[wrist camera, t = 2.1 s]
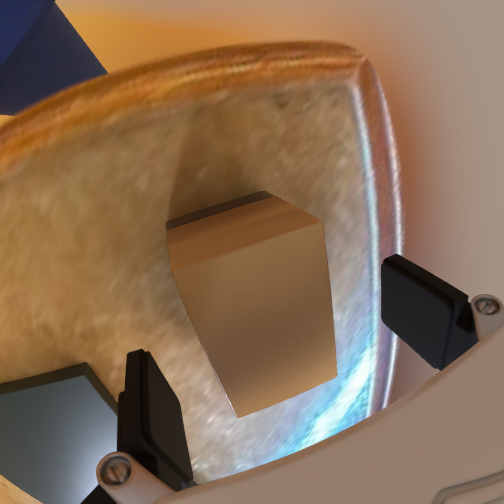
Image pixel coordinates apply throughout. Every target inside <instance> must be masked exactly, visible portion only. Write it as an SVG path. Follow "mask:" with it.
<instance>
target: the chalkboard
mask: <svg viewBox="0 0 504 504" xmlns="http://www.w3.org/2000/svg"><path fill="white" fill-rule="evenodd" d="M117 416H118V403H117V402H116V401H115V400H114V398H113V397H112V396H111V395H110V393H109V392H108V391H107V390H106V388H105V387H104V386H103V384H102V383H101V382H100V381H99V379H98V378H97V377H96V375H95V374H94V372H93V371H92V370H91V368H90V367H89V366H88V364H87V363H83V364H79V365H76V366H72V367H69V368H65V369H61V370H57V371H54V372H50V373H46V374H42V375H38V376H34V377H30V378H26V379H22V380H18V381H14V382H9V383H5V384H1V385H0V474H1V475H2V476H3V477H5V478H6V479H7V480H9V481H10V482H12V483H13V484H14V485H16V486H17V487H19V488H20V489H22V490H23V491H25V492H26V493H28V494H29V495H31V496H32V497H34V498H35V499H37V500H38V501H40V502H42V503H43V504H80V503H81V502H82V501H83V500H84V499H85V498H86V497H87V496H88V495H89V494H90V493H91V492H92V491H93V490H94V489H95V487H96V486H97V485H98V484H99V483H98V481H97V479H96V467H97V465H98V463H99V462H100V460H101V459H102V458H103V457H104V456H106V455H107V454H110V453H112V452H117ZM190 485H191V487H194V486H197V484H196V483H195V482H194V481H192V480H190Z"/></svg>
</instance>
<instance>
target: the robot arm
mask: <svg viewBox="0 0 504 504" xmlns="http://www.w3.org/2000/svg"><path fill="white" fill-rule="evenodd" d="M381 318H382V321H383V323H384V324H385V325H386V326H387V327H389V328H390V329H391V330H392V331H393V332H394V333H395V334H396V335H398V336H399V337H400V338H401V339H402V340H403V341H404V342H406V343H407V344H408V345H409V346H410V347H411V348H412V349H413V350H414V351H416V352H417V353H418V354H419V355H420V356H421V357H422V358H423V359H425V360H426V361H427V362H428V363H429V364H430V365H431V366H432V367H433V368H435V369H437V368H438V369H439V370H440V372H439V373H437V374H436V375H435V376H433V377H432V378H430V379H429V380H428V381H426V382H425V383H423V384H422V385H420V386H419V387H417V388H416V389H414V390H413V391H411V392H410V393H408V394H407V395H405V396H403V397H402V398H400V399H399V400H397V401H396V402H394V403H392V404H391V405H389V406H387V407H386V408H384V409H382V410H380V411H379V412H377V413H375V414H373V415H372V416H370V417H368V418H366V419H364V420H363V421H361V422H359V423H357V424H355V425H353V426H351V427H349V428H347V429H345V430H343V431H341V432H339V433H337V434H335V435H333V436H331V437H329V438H327V439H325V440H323V441H321V442H318V443H316V444H314V445H312V446H309V447H307V448H305V449H302V450H300V451H298V452H295V453H293V454H290V455H288V456H285V457H283V458H280V459H277V460H275V461H272V462H269V463H267V464H264V465H261V466H258V467H255V468H252V469H249V470H246V471H243V472H240V473H237V474H234V475H231V476H228V477H224V478H221V479H217V480H214V481H210V482H207V483H204V484H201V485H197V486H194V487H191V485H190V480H193V479H194V477H193V472H192V467H191V462H190V457H189V452H188V446H187V441H186V436H185V430H184V424H183V418H182V412H181V406H180V402H179V400H178V398H177V396H176V395H175V393H174V392H173V390H172V388H171V387H170V385H169V384H168V382H167V380H166V379H165V377H164V375H163V374H162V372H161V370H160V369H159V367H158V365H157V364H156V362H155V360H154V358H153V357H152V355H151V353H150V352H149V351H147V352H145V351H144V350H143V349H139V350H136V351H133V352H129V353H128V354H127V361H126V374H125V391H123V392H120V393H119V397H118V416H117V452H112V453H110V454H107V455H106V456H104V457H103V458H102V459H101V460H100V462H99V463H98V465H97V467H96V479H97V481H98V483H99V484H98V485H97V486H96V487H95V489H94V490H93V491H92V492H91V493H90V494H89V495H88V496H87V497H86V498H85V499H84V500H83V501H82V502H81V503H80V504H504V306H503V304H502V302H501V301H500V300H499V299H498V298H496V297H494V296H491V295H488V294H482V295H478V296H475V297H474V298H473V299H472V301H471V303H469V302H468V295H466V294H465V293H463V292H462V291H460V290H458V289H457V288H455V287H453V286H452V285H450V284H448V283H447V282H445V281H443V280H442V279H440V278H438V277H437V276H435V275H433V274H432V273H430V272H428V271H427V270H425V269H423V268H421V267H420V266H418V265H416V264H414V263H413V262H411V261H409V260H407V259H405V258H404V257H402V256H400V255H398V254H394V255H392V256H390V257H387V258H385V259H384V261H383V264H382V265H381Z"/></svg>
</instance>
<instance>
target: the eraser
mask: <svg viewBox="0 0 504 504" xmlns="http://www.w3.org/2000/svg"><path fill="white" fill-rule="evenodd" d="M166 233H167V242H168V250H169V258H170V265H171V272H172V276H173V278H174V281H175V283H176V286H177V288H178V291H179V293H180V296H181V298H182V300H183V303H184V305H185V308H186V310H187V312H188V315H189V317H190V320H191V322H192V324H193V326H194V329H195V331H196V333H197V336H198V338H199V340H200V342H201V345H202V347H203V349H204V351H205V353H206V356H207V358H208V360H209V362H210V364H211V366H212V368H213V371H214V373H215V375H216V377H217V379H218V381H219V383H220V385H221V387H222V389H223V391H224V393H225V395H226V397H227V399H228V401H229V403H230V405H231V407H232V409H233V411H234V413H235V415H236V417H237V418H240V417H243V416H246V415H249V414H251V413H254V412H257V411H259V410H262V409H264V408H267V407H270V406H272V405H275V404H277V403H280V402H282V401H284V400H287V399H289V398H292V397H294V396H296V395H298V394H301V393H303V392H305V391H307V390H310V389H312V388H314V387H316V386H318V385H320V384H323V383H325V382H327V381H329V380H331V379H333V378H335V377H337V362H336V346H335V333H334V320H333V309H332V298H331V288H330V279H329V270H328V262H327V253H326V246H325V238H324V231H323V224H322V221H321V220H319V219H317V218H316V217H314V216H312V215H310V214H308V213H306V212H305V211H303V210H301V209H299V208H297V207H295V206H294V205H292V204H290V203H288V202H286V201H284V200H282V199H280V198H278V197H277V196H274V195H272V194H270V193H268V192H266V191H262V192H258V193H255V194H252V195H248V196H245V197H242V198H239V199H235V200H232V201H229V202H226V203H223V204H219V205H216V206H213V207H210V208H207V209H204V210H201V211H198V212H195V213H192V214H189V215H186V216H183V217H180V218H177V219H174V220H171V221H168V222H166Z"/></svg>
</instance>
